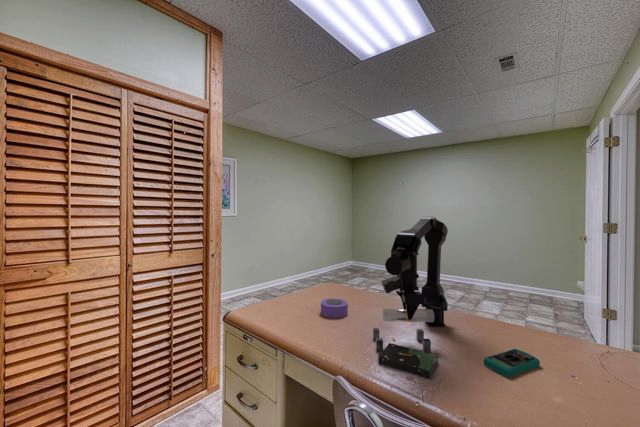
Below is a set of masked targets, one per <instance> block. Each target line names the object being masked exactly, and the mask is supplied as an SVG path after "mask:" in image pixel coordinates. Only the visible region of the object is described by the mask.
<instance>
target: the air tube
mask: <svg viewBox="0 0 640 427" xmlns="http://www.w3.org/2000/svg"><path fill="white" fill-rule="evenodd" d="M382 319H383V322H398V323H399V322H401V323H404V322H405V323H407V322H410V323H413V322H414V323H415V322H416V323H426V322H434V312H433V310H432V309H425V308H422V309H421V308H417V310H416V312H415V314H414V316H413V318H412V319H408V316H407V311H406V309H404V308H382Z"/></svg>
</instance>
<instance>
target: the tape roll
mask: <svg viewBox="0 0 640 427" xmlns="http://www.w3.org/2000/svg"><path fill="white" fill-rule="evenodd" d="M348 305H349V303H348V301H347V300H345V299H342V298H338V297H337V298H335V297H333V298H332V297H330V298H325V299H323V300H321V302H320V315H321V316H323V317H326V318H327V319H328V318H329V319H341V317H342V318H345V317H346V315H347V316H348V313H349V312H348V308H349V307H348Z"/></svg>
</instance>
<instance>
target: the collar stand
mask: <svg viewBox="0 0 640 427" xmlns="http://www.w3.org/2000/svg"><path fill="white" fill-rule="evenodd" d="M415 331H416V335H415V338H416V341H417V342H418V343H419V342H422V352H427V353H431V352H432V341H431V339H430V338H425V337H424V336H425V331H424V329H422V328H420V329H419V328H416V330H415ZM372 339H373V341H375V351H376V352H383V350H384V339H383V337H380V329H379V327H372ZM391 339H392V341H393V342H394V341H395V342H396V338H395V337H392V338H391Z"/></svg>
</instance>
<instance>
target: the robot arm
mask: <svg viewBox="0 0 640 427" xmlns="http://www.w3.org/2000/svg"><path fill="white" fill-rule="evenodd" d="M447 236H448V227H447V226H446V224H445V223H444V222H442V221H440V220H439V219H437V218H436V217H434V216H422V217H420V220H419V221H417V222H416V223H415V224H414V225H413V226H412V227H411V228H409V229H405V230H402V231H399V232H397V234H396V235H395V237H394V240H393V244H392V247H391V250H390V256H389V257H388V258H386V260H385V263H384V267H385V270H386V271H387V273H388V274H389V275H392V276H393V277H389V278H386V279H384V280H381V284H382V287H383V290H384V291H385V294H391V293H392V292H394V291H395V293H396V294H397V295H398V296H399V297H400V300H401V304H402V309H406V311H407V316H408V319H412V318H413V316H414V314H415V312H416V310H417V309H419V307H420V305H421V307H422V308H424V309H432V310H433V312H434V322H425V323H426V324H427V326H429V327H447V326H446V324H445V312H447V311H448V307H449V304H448V300H447V298H446V296H445V290H444V288H443V287H442V285H441V282H440V281H441V259H442V258H441V256H442V255H441V254H442V246H443V244H444V243H445V241H446V239H447ZM422 238H424V240H425V242H426V244H427V246H428V249H427V267H426V268H427V269H426V270H427V272H426V283H425V284H424V285H423V286H422V287H421V291H420V287H419V286H418V279H420V277H419V276H420V275H419V273H418V256H419V255H420V254H419V250H420V247H421V245H422Z"/></svg>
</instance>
